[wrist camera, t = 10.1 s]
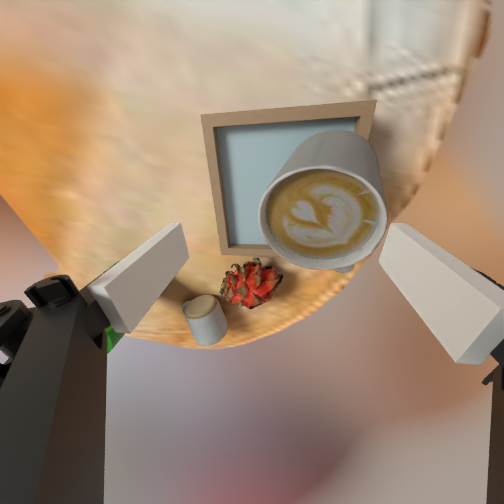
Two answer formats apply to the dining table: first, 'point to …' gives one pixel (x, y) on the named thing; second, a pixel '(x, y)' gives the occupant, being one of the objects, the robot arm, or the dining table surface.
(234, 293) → the dragon fruit
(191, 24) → the dining table surface
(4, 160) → the dining table surface
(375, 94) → the dining table surface
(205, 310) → the ceramic mug
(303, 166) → the coffee mug
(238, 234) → the picture frame
